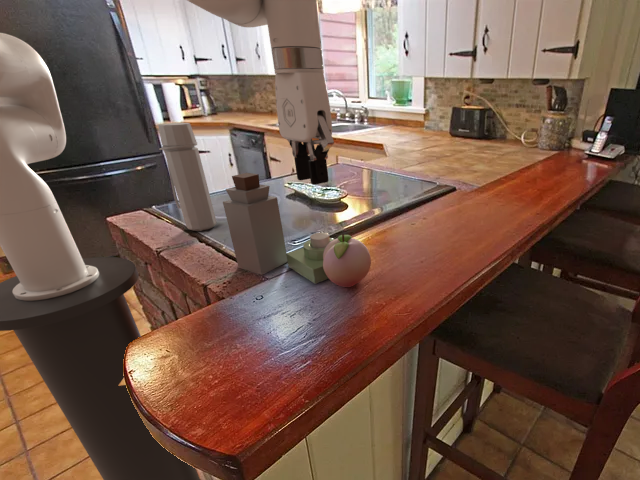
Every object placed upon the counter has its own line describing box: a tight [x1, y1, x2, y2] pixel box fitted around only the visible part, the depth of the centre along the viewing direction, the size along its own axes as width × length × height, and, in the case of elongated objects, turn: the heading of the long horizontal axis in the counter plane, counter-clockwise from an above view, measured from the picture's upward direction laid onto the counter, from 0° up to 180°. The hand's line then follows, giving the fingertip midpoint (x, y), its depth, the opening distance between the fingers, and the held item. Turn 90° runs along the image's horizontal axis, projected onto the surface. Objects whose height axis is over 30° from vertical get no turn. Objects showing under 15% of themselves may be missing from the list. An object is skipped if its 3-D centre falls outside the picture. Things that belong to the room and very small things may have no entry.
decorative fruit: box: [323, 233, 372, 288], centre depth 63 cm, size 9×8×10 cm
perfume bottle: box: [222, 172, 288, 276], centre depth 69 cm, size 7×7×18 cm
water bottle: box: [157, 122, 218, 232], centre depth 88 cm, size 9×8×25 cm
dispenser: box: [286, 237, 336, 285], centre depth 71 cm, size 10×10×5 cm
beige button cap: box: [309, 232, 331, 248], centre depth 69 cm, size 4×4×2 cm
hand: (312, 180), depth 64 cm, fingers open, 3 cm apart
